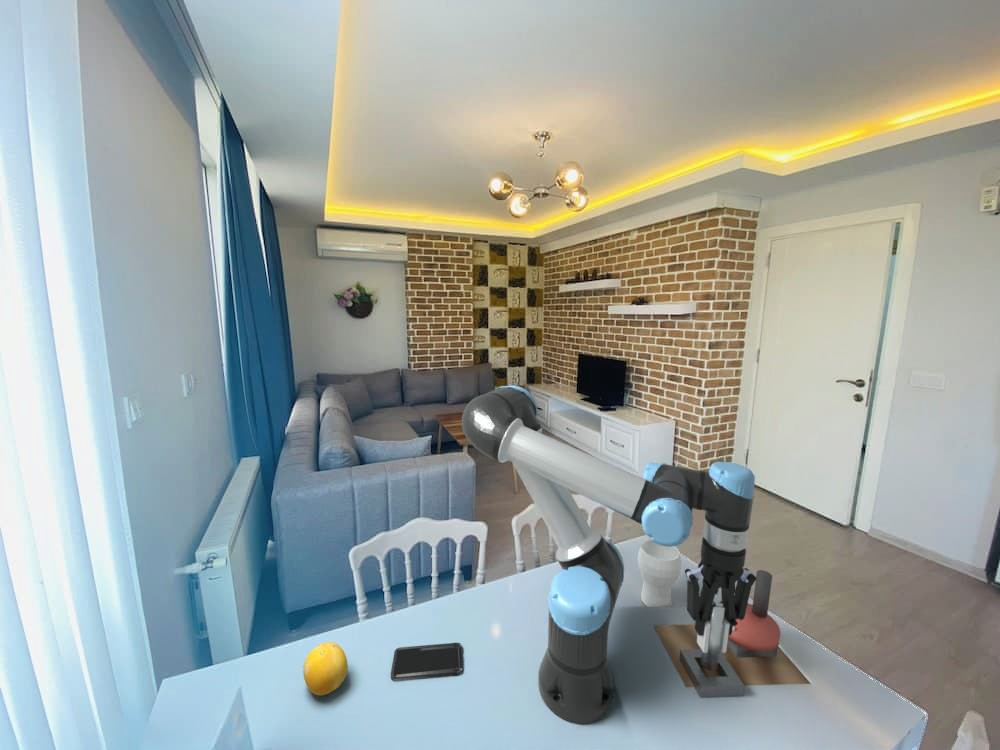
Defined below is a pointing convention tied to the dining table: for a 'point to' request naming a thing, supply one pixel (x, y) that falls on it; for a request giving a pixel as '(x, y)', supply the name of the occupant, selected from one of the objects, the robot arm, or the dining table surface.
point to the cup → (658, 572)
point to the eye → (711, 686)
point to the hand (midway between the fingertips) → (711, 646)
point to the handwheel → (757, 620)
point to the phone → (427, 662)
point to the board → (732, 659)
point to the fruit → (325, 668)
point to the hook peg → (714, 635)
